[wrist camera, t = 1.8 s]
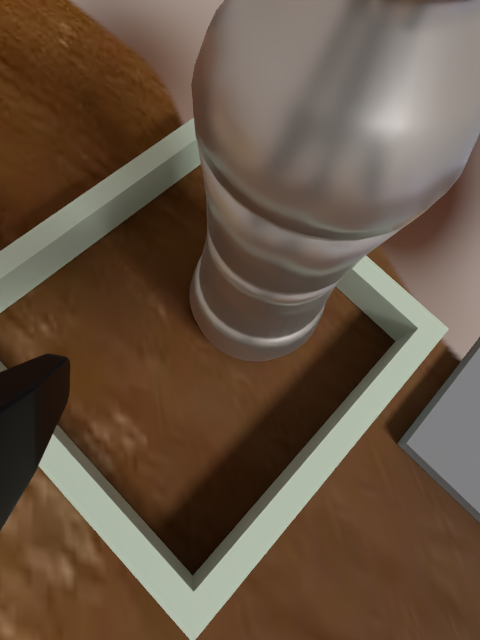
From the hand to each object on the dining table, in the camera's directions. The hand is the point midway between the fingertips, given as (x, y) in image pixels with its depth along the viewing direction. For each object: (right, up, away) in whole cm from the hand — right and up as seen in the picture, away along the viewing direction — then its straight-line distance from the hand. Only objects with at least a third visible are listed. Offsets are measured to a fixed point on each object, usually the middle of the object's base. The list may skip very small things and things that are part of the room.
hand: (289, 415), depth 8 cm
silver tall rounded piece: (-1, +2, +15) cm, 15 cm away
